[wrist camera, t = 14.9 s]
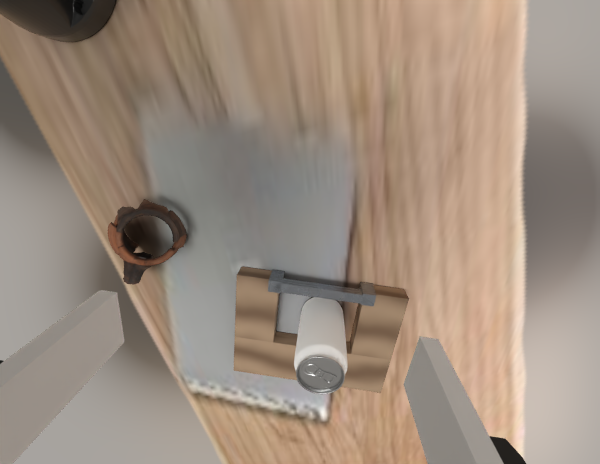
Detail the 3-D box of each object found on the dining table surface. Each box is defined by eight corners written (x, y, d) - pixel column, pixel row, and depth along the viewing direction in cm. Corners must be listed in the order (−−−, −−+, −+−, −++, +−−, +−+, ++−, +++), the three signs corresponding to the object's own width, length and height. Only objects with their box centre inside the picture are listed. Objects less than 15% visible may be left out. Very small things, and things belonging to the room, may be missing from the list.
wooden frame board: (241, 266, 42) (236, 274, 40) (404, 289, 41) (408, 299, 39) (238, 358, 48) (233, 370, 46) (377, 379, 48) (380, 393, 45)
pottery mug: (119, 189, 40) (109, 195, 32) (189, 203, 44) (195, 211, 37) (105, 270, 41) (93, 293, 34) (175, 276, 45) (177, 297, 38)
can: (314, 287, 42) (309, 344, 31) (351, 306, 43) (359, 370, 32) (294, 317, 44) (282, 381, 33) (329, 335, 45) (329, 404, 34)
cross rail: (272, 269, 42) (268, 280, 39) (372, 283, 41) (376, 295, 38) (271, 280, 42) (267, 291, 39) (370, 294, 42) (373, 306, 39)
